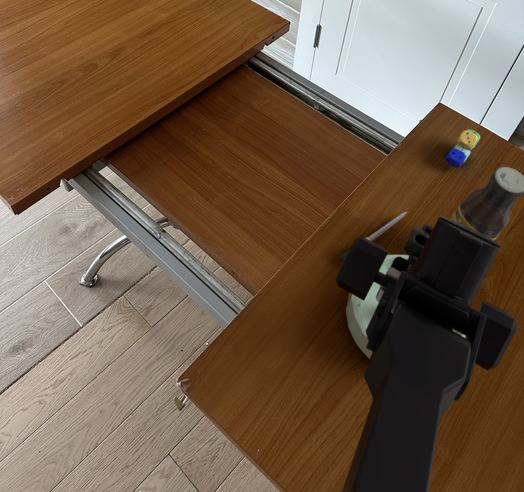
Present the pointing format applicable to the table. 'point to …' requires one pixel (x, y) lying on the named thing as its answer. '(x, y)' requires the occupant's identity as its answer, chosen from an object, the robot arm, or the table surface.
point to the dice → (462, 148)
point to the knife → (376, 234)
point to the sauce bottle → (491, 203)
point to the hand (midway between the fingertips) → (422, 283)
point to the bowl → (366, 309)
